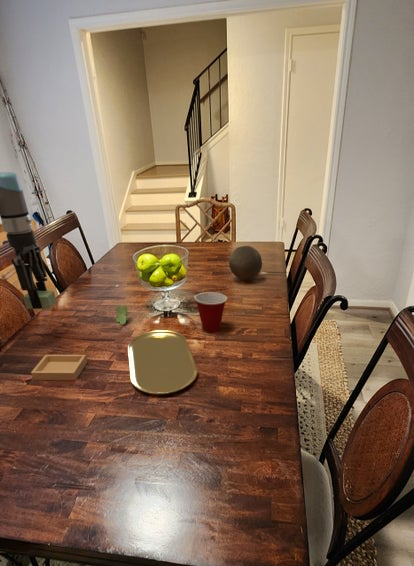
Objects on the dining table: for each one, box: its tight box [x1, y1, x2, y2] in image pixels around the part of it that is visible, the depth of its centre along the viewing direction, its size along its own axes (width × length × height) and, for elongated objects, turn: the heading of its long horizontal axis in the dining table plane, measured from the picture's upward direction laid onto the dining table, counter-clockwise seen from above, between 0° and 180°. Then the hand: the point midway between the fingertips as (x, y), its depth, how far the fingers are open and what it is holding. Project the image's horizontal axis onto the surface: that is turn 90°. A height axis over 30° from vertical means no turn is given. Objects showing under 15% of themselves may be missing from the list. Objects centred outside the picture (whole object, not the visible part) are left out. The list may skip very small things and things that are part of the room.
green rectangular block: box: [22, 290, 58, 310], centre depth 119 cm, size 8×5×4 cm, turn 87°
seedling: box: [115, 304, 129, 326], centre depth 136 cm, size 7×8×6 cm
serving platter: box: [127, 329, 199, 396], centre depth 111 cm, size 19×35×2 cm, turn 13°
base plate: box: [30, 354, 88, 381], centre depth 109 cm, size 13×10×3 cm
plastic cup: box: [194, 291, 228, 334], centre depth 124 cm, size 11×11×12 cm
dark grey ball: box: [228, 245, 263, 281], centre depth 162 cm, size 14×14×15 cm
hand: (41, 304), depth 120 cm, fingers closed on green rectangular block, 5 cm apart
